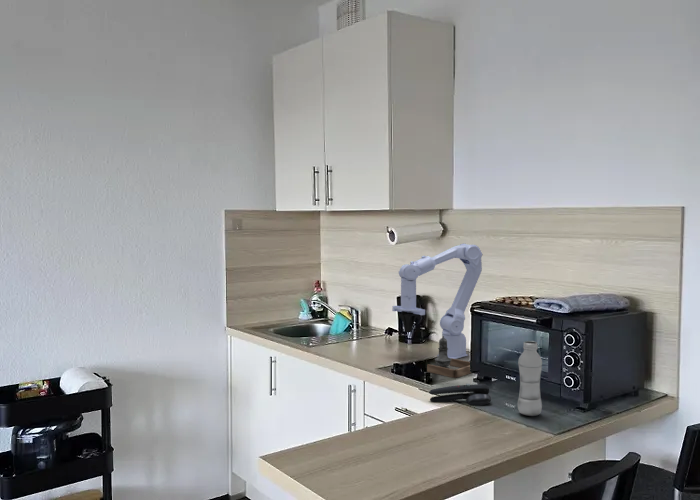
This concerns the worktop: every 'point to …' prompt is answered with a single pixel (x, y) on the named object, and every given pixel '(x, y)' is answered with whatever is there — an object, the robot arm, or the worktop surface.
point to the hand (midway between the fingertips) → (408, 332)
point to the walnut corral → (463, 369)
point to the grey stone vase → (443, 354)
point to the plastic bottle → (530, 380)
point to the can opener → (463, 394)
